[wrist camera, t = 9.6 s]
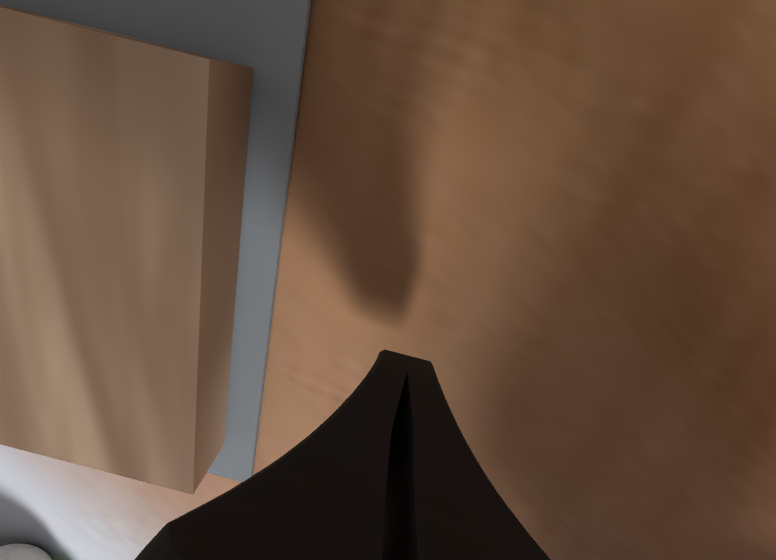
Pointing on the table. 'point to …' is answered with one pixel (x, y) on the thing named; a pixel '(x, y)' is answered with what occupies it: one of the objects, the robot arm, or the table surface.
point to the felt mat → (263, 166)
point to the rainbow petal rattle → (22, 552)
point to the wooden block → (117, 247)
